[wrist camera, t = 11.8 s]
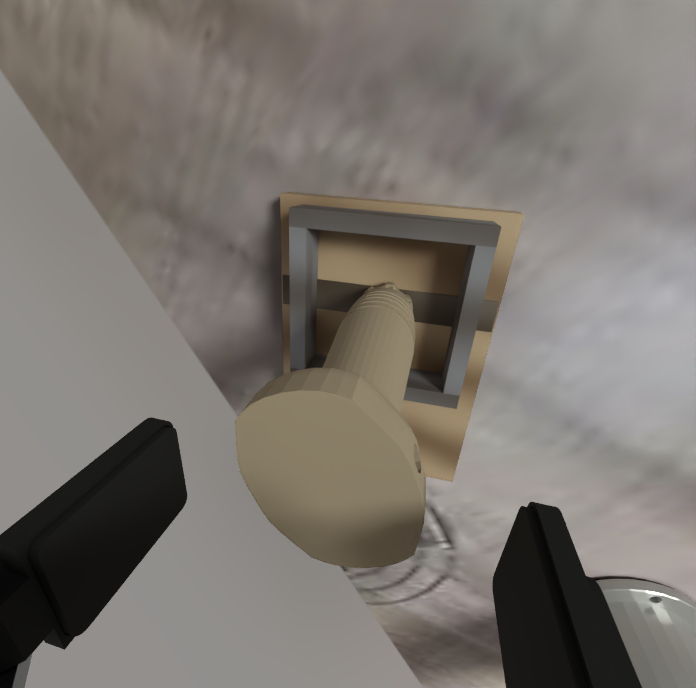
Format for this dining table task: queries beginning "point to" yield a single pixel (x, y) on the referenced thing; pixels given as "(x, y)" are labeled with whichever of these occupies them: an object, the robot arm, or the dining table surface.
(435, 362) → the subfloor panel
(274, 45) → the dining table surface
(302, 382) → the handle
